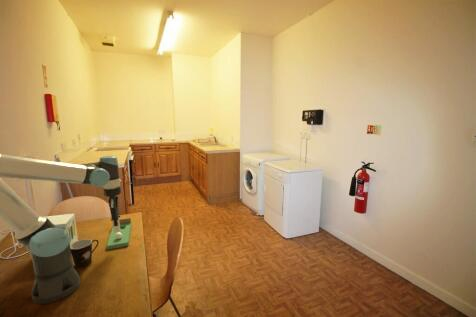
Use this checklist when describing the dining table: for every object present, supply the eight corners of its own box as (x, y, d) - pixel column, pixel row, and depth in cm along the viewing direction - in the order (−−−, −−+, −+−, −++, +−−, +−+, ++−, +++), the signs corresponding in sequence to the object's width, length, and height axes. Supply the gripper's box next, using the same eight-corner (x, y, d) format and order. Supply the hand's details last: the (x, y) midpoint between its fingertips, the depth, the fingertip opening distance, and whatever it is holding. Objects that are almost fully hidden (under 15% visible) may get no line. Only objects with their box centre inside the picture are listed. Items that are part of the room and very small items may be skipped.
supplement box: (70, 257, 115) (65, 223, 112) (37, 262, 111) (31, 227, 108) (79, 243, 127) (75, 212, 124) (49, 247, 123) (45, 216, 120)
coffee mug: (73, 272, 103) (70, 251, 102) (71, 263, 110) (68, 243, 108) (103, 262, 111) (100, 242, 109) (99, 253, 117) (97, 235, 115)
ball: (122, 239, 127) (121, 233, 126) (114, 240, 126) (114, 234, 125) (122, 236, 130) (122, 230, 130) (115, 237, 129) (115, 231, 128)
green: (128, 245, 125) (127, 237, 124) (107, 249, 121) (106, 240, 120) (131, 225, 148) (130, 217, 148) (113, 227, 145) (112, 220, 144)
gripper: (118, 189, 113) (124, 235, 117) (121, 182, 124) (126, 224, 129) (101, 191, 110) (107, 238, 114) (105, 184, 122) (110, 226, 126)
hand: (117, 230), depth 122 cm, fingers closed
